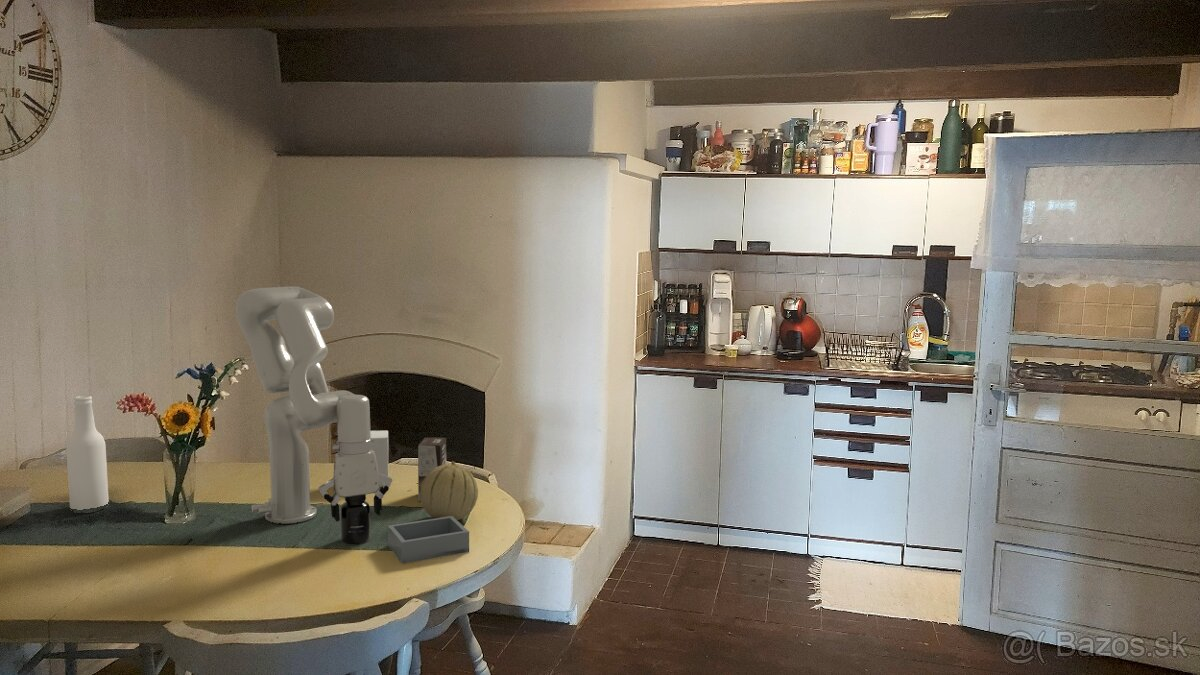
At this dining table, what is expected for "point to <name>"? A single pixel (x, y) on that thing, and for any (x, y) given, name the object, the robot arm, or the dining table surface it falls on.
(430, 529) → the tote
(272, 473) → the robot arm
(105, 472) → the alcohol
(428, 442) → the coffee box
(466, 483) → the cantaloupe
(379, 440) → the supplement box
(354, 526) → the supplement bottle
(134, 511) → the dining table surface
